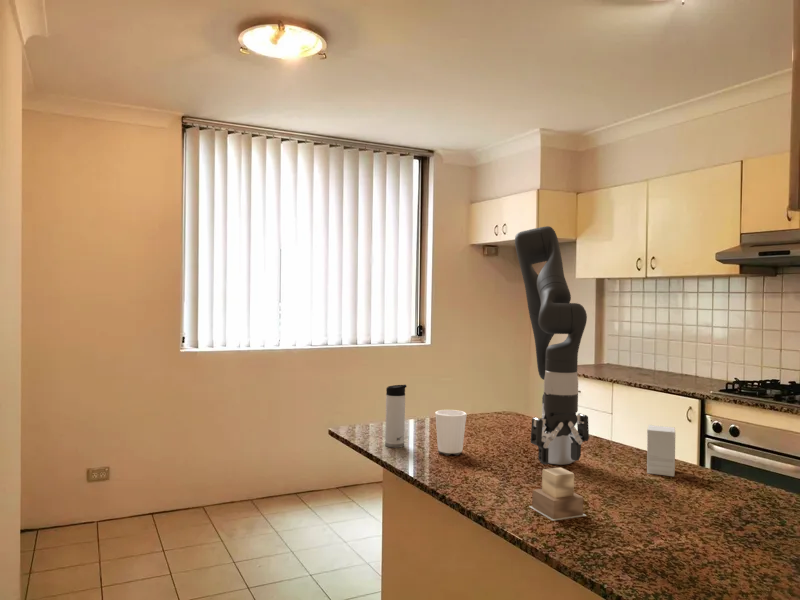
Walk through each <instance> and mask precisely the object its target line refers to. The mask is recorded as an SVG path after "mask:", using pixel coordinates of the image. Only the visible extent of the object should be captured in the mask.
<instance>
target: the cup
mask: <svg viewBox="0 0 800 600" xmlns="http://www.w3.org/2000/svg"><path fill="white" fill-rule="evenodd" d="M434 413H435V427H436V429H435V430H436V441H437V442H436V443H437V452H438V454H440V455H441V454H444V456H447V457H448V456H450V455H453V456H456V457H457V456H459V455H460V454H462V452H463V448H464V441H465V440H464V439H465V430H466V421H467V413H466V412H465V411H463V410H458V409H457V410H456V409H439V410H437V411H435V412H434Z"/></svg>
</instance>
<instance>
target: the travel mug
mask: <svg viewBox="0 0 800 600" xmlns="http://www.w3.org/2000/svg"><path fill="white" fill-rule="evenodd" d="M406 388H407V384H396V385H394V384H393V385H389V386H387V387H386V394H385V430H384V431H385V432H384V433H385V436H384V437H385V438H384V444H385V446H386V447H387V448H392V449H394V448H395V449H397V448H402V447H404V446H405V434H406V433H405V429H406V428H405V425H406V424H405V422H406Z"/></svg>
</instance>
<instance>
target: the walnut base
mask: <svg viewBox="0 0 800 600" xmlns="http://www.w3.org/2000/svg"><path fill="white" fill-rule="evenodd" d="M531 496H532V499H531V500H532V503H531V504H532V505H531V506H532V507H533V508H535V509H537V510H538V511H540V512H542V513H544V514H545V515H547V516H549V517H550V518H552V519H558V518H565V517H572V516H579V515H583V514H584V496H582V495H580V494H578V493H577V492H574V496H567V497H559V498H554V497H552V496H551V495H549V494H547V493H545V492H543V491H542V488H536V489H532V495H531Z"/></svg>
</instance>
